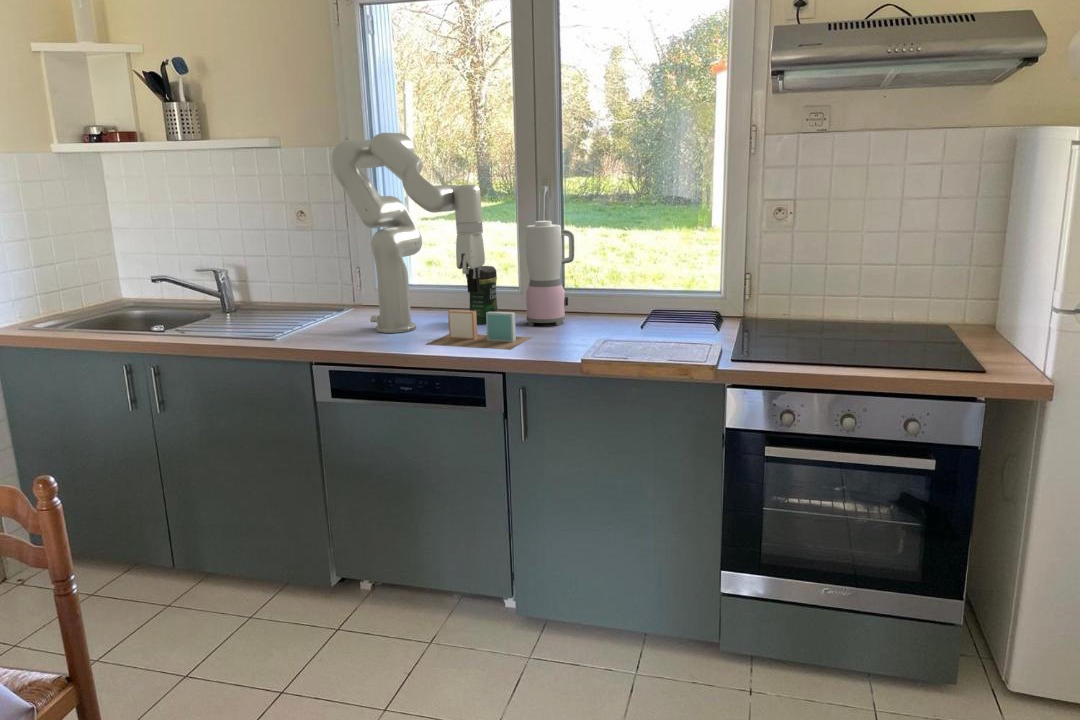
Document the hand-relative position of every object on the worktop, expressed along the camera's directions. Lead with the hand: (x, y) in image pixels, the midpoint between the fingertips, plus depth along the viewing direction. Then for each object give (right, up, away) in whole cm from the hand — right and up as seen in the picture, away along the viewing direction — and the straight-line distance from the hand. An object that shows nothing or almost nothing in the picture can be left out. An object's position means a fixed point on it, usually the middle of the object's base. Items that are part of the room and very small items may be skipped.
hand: (473, 291), depth 239 cm
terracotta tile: (-3, -14, -3) cm, 14 cm away
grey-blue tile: (+8, -14, -7) cm, 18 cm away
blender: (+23, -8, +21) cm, 32 cm away
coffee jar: (+2, -9, +22) cm, 23 cm away
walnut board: (+2, -15, -7) cm, 17 cm away
